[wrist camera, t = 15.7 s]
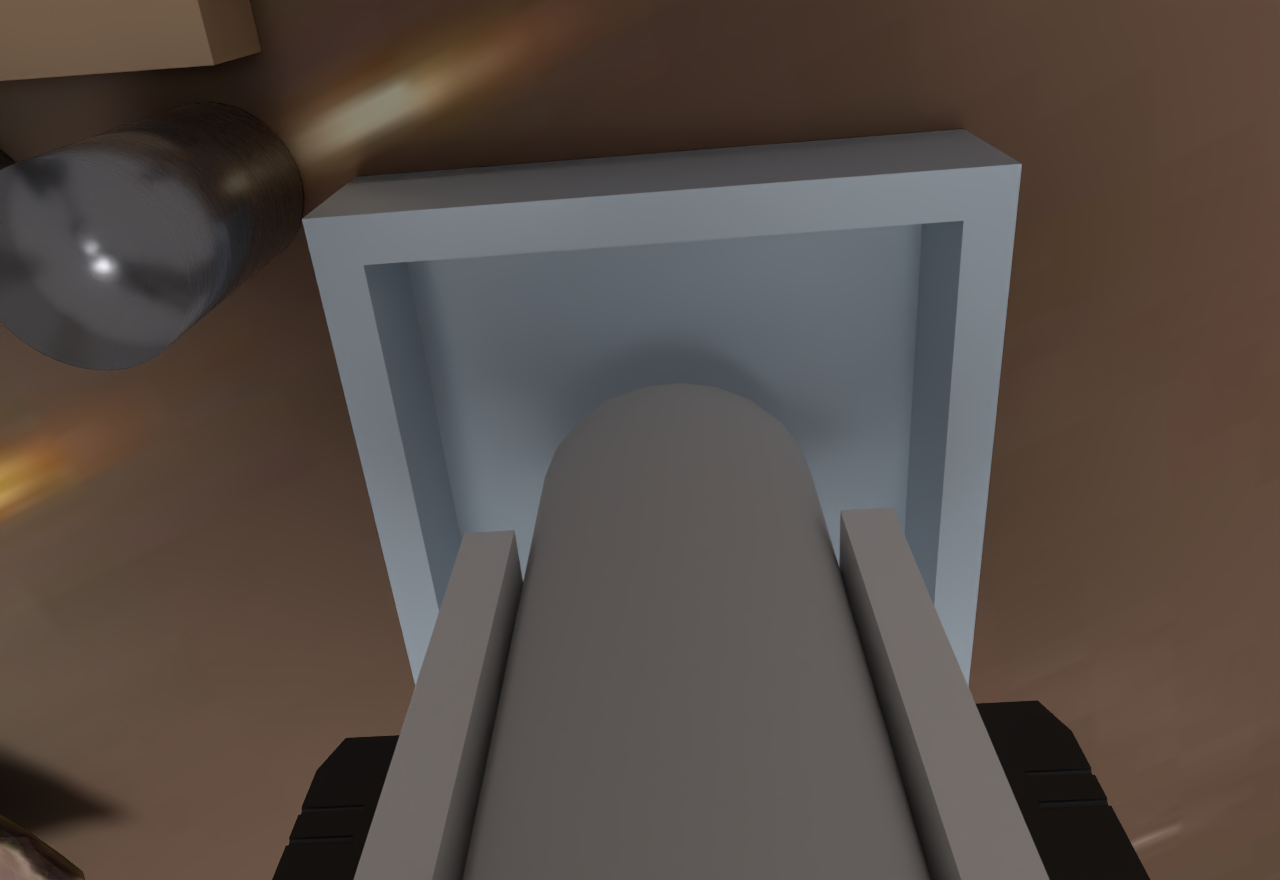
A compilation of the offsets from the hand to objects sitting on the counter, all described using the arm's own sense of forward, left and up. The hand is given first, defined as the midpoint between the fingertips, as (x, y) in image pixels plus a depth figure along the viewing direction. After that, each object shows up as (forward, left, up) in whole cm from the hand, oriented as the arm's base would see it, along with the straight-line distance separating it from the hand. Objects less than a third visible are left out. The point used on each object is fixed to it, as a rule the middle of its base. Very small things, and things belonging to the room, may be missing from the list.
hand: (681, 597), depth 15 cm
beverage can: (0, 0, -3) cm, 3 cm away
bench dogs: (-6, -11, -6) cm, 13 cm away
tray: (0, 0, -6) cm, 6 cm away
